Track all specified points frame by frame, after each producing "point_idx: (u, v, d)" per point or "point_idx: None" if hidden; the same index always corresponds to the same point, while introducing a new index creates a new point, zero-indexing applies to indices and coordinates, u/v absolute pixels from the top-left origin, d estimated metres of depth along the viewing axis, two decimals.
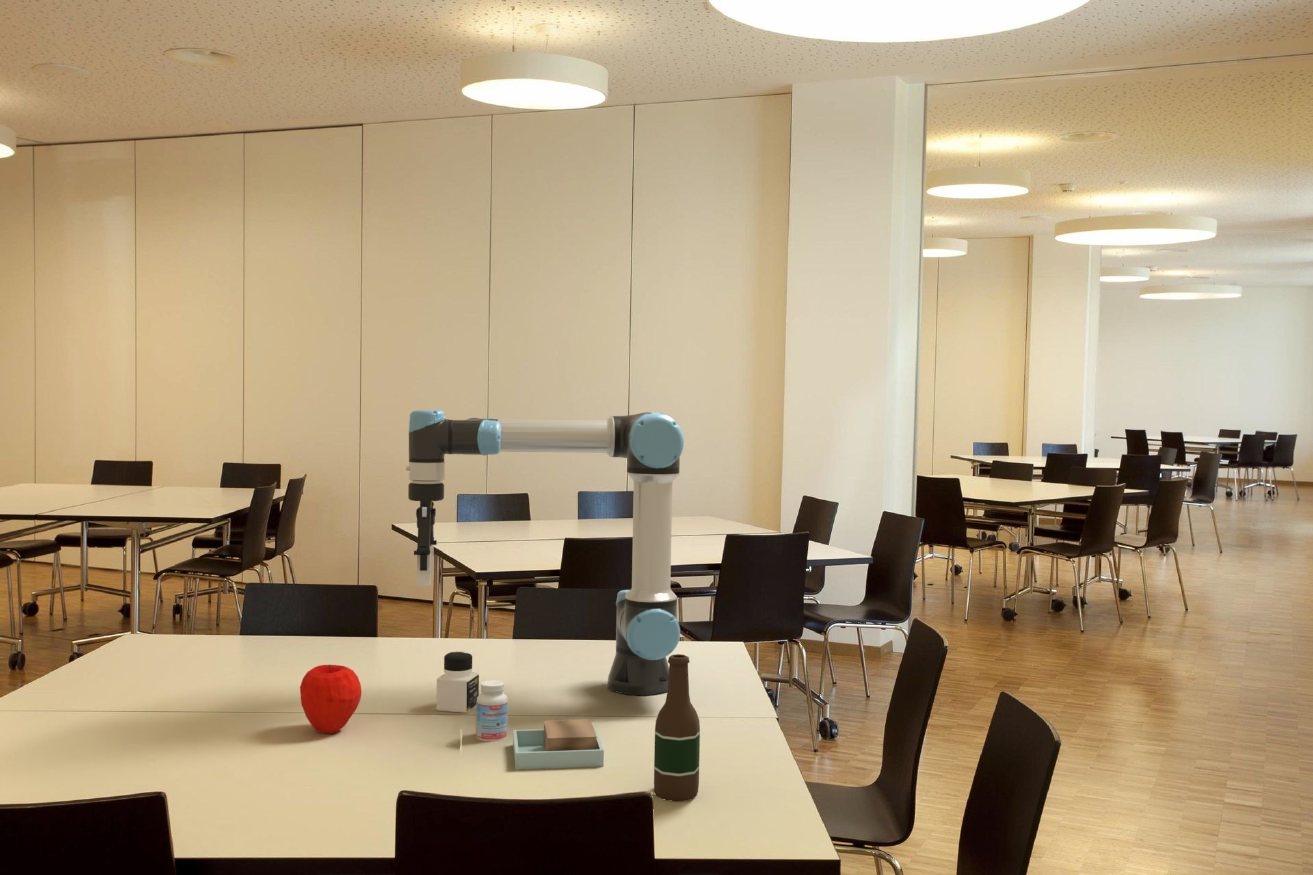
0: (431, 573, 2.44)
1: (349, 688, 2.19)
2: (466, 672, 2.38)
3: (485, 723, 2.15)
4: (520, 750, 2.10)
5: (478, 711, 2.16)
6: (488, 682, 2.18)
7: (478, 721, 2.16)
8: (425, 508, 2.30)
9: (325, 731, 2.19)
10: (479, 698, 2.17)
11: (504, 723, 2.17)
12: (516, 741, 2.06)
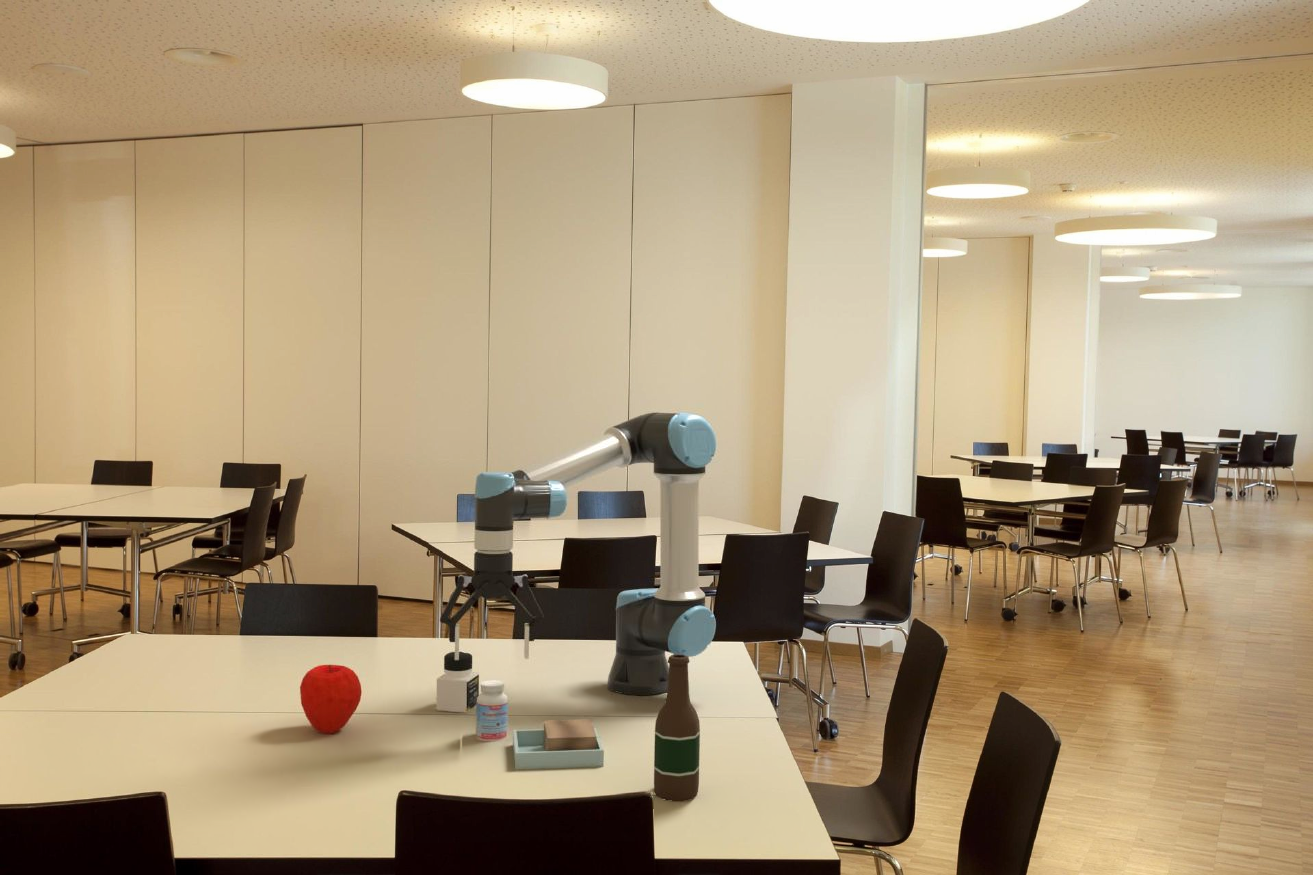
0: (524, 656, 2.18)
1: (349, 688, 2.19)
2: (466, 672, 2.38)
3: (485, 723, 2.15)
4: (520, 750, 2.10)
5: (478, 711, 2.16)
6: (488, 682, 2.18)
7: (478, 721, 2.16)
8: (458, 576, 2.16)
9: (325, 731, 2.19)
10: (479, 698, 2.17)
11: (504, 723, 2.17)
12: (516, 741, 2.06)
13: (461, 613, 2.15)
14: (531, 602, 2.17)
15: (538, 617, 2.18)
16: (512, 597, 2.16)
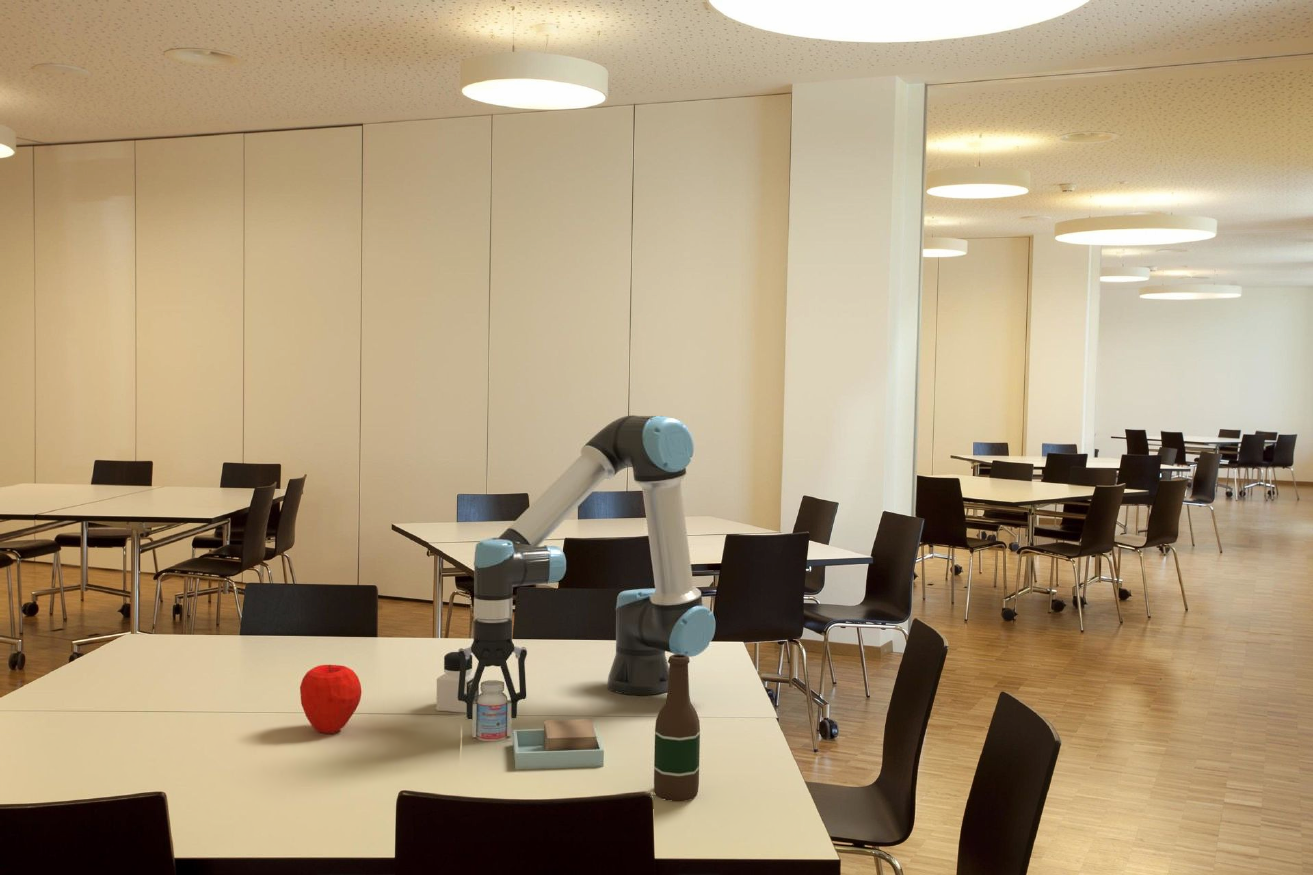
0: (507, 733, 2.18)
1: (349, 688, 2.19)
2: (466, 672, 2.38)
3: (485, 723, 2.15)
4: (520, 750, 2.10)
5: (478, 711, 2.16)
6: (488, 682, 2.18)
7: (478, 721, 2.16)
8: (458, 652, 2.16)
9: (325, 731, 2.19)
10: (479, 698, 2.17)
11: (504, 723, 2.17)
12: (516, 741, 2.06)
13: (474, 688, 2.16)
14: (520, 677, 2.18)
15: (521, 693, 2.18)
16: (506, 669, 2.17)
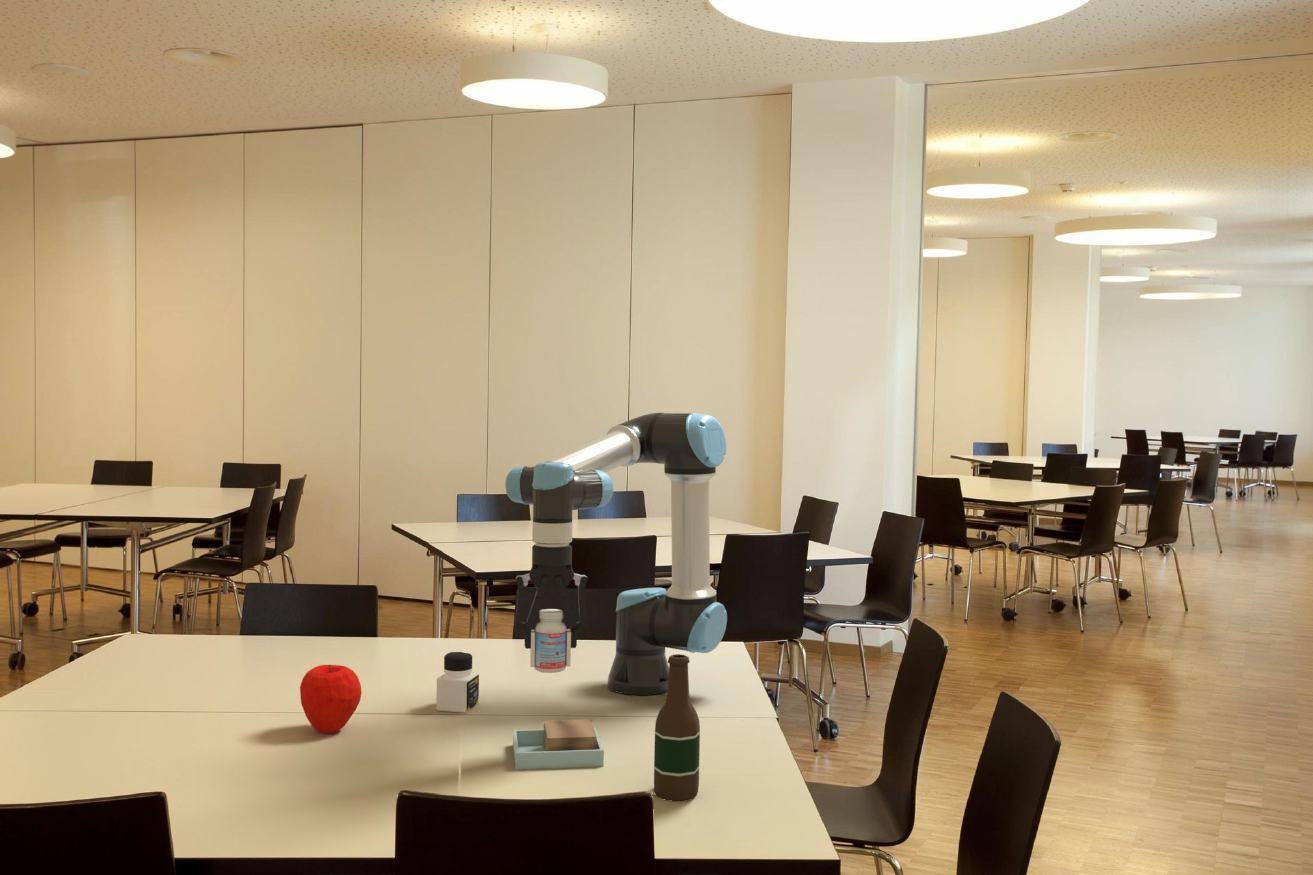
0: (566, 663, 2.09)
1: (349, 688, 2.19)
2: (466, 672, 2.38)
3: (544, 652, 2.07)
4: (520, 750, 2.10)
5: (536, 640, 2.08)
6: (546, 610, 2.10)
7: (536, 650, 2.08)
8: (516, 578, 2.08)
9: (325, 731, 2.19)
10: (537, 626, 2.08)
11: (563, 653, 2.08)
12: (516, 741, 2.06)
13: (533, 615, 2.08)
14: (580, 605, 2.09)
15: (581, 622, 2.09)
16: (565, 596, 2.08)
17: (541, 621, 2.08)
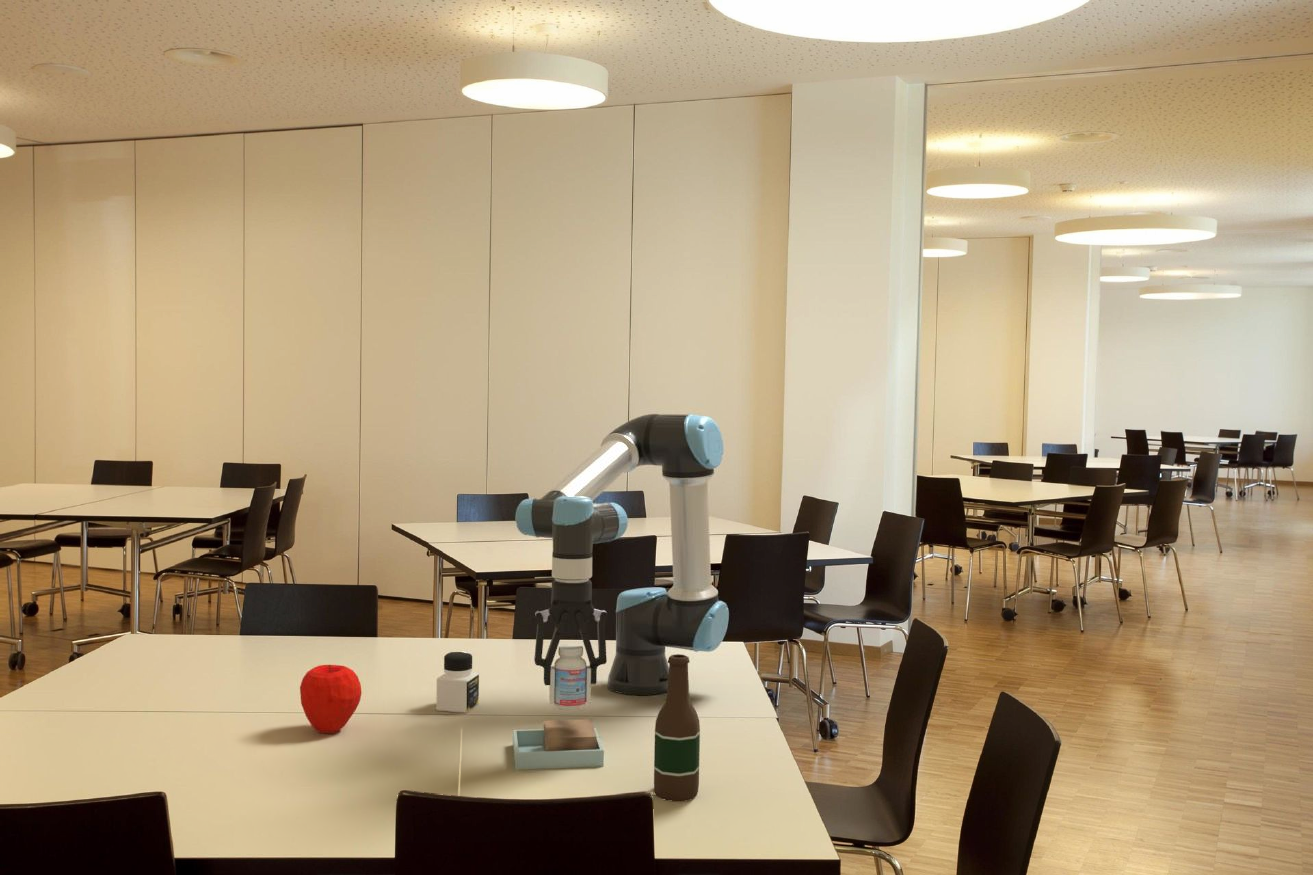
0: (586, 700, 2.07)
1: (349, 688, 2.19)
2: (466, 672, 2.38)
3: (564, 688, 2.04)
4: (520, 750, 2.10)
5: (556, 676, 2.05)
6: (566, 646, 2.07)
7: (556, 687, 2.05)
8: (535, 614, 2.06)
9: (325, 731, 2.19)
10: (557, 662, 2.06)
11: (583, 689, 2.06)
12: (516, 741, 2.06)
13: (553, 652, 2.05)
14: (600, 640, 2.07)
15: (601, 658, 2.07)
16: (585, 632, 2.06)
17: (561, 657, 2.06)
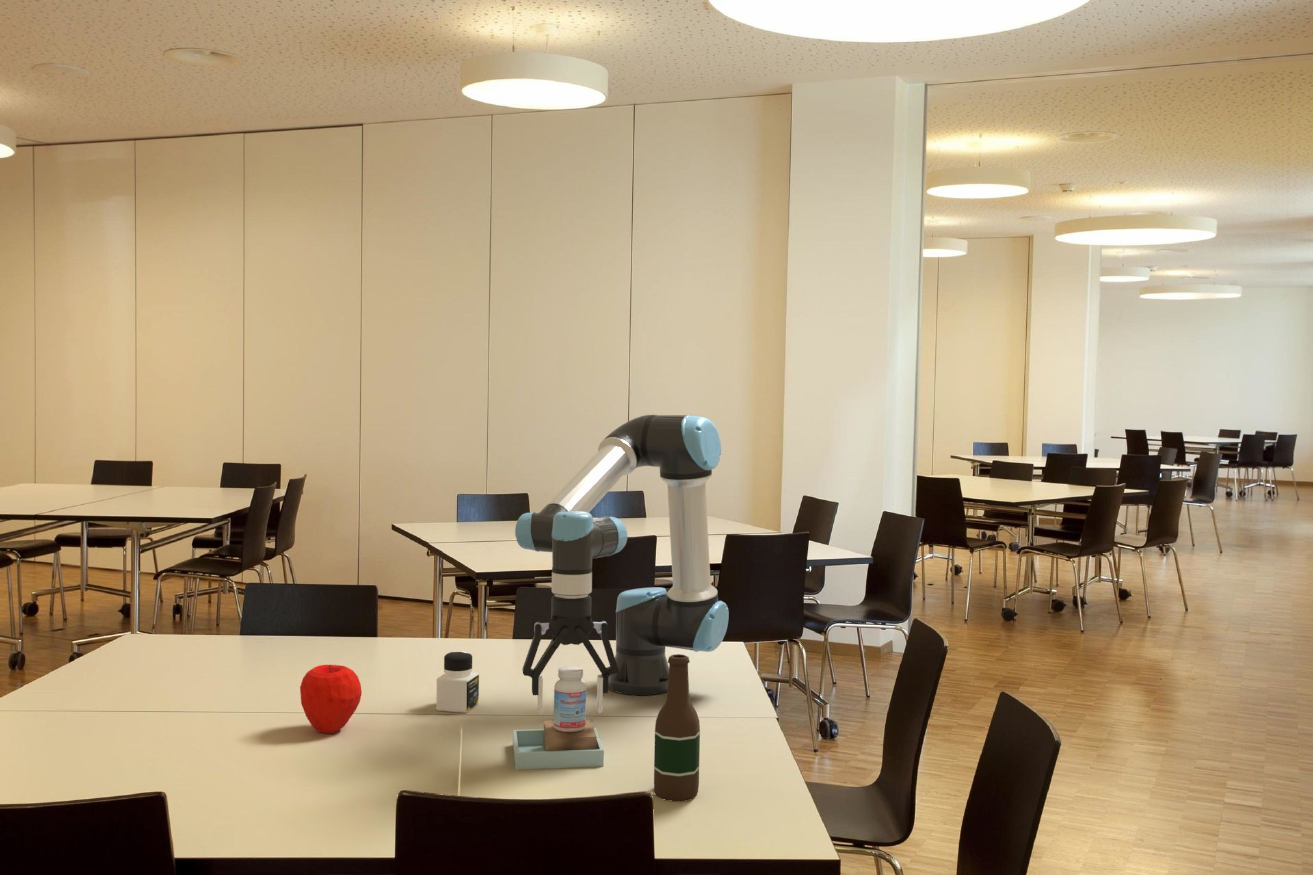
0: (598, 709, 2.07)
1: (349, 688, 2.19)
2: (466, 672, 2.38)
3: (564, 711, 2.05)
4: (520, 750, 2.10)
5: (556, 699, 2.06)
6: (566, 669, 2.07)
7: (556, 709, 2.06)
8: (535, 624, 2.06)
9: (325, 731, 2.19)
10: (557, 685, 2.06)
11: (583, 711, 2.06)
12: (516, 741, 2.06)
13: (544, 663, 2.05)
14: (607, 651, 2.07)
15: (612, 668, 2.07)
16: (589, 645, 2.06)
17: (561, 680, 2.06)
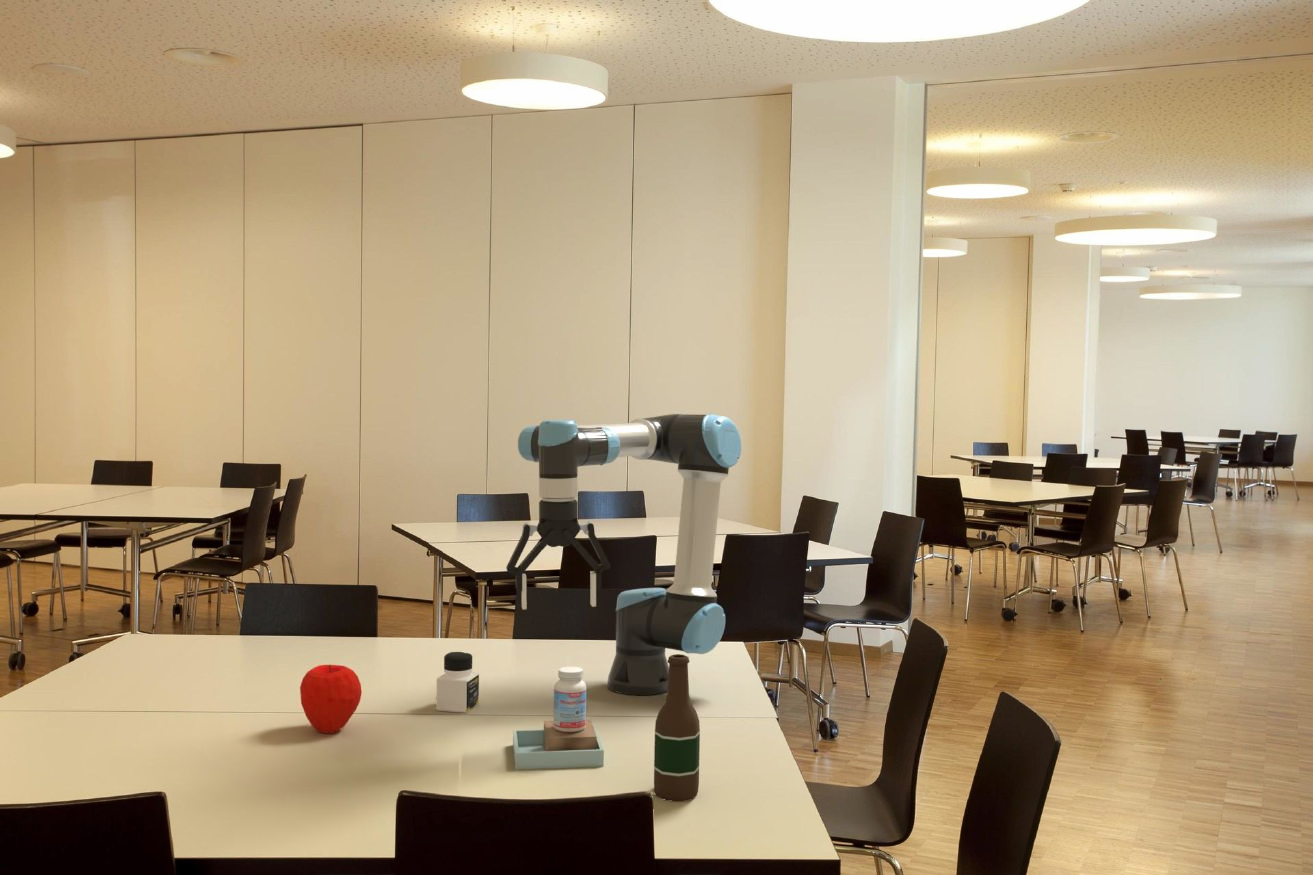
0: (591, 604, 2.17)
1: (349, 688, 2.19)
2: (466, 672, 2.38)
3: (564, 711, 2.05)
4: (520, 750, 2.10)
5: (556, 699, 2.06)
6: (566, 669, 2.07)
7: (556, 709, 2.06)
8: (524, 525, 2.14)
9: (325, 731, 2.19)
10: (557, 685, 2.06)
11: (583, 711, 2.06)
12: (516, 741, 2.06)
13: (528, 562, 2.14)
14: (597, 549, 2.16)
15: (604, 564, 2.17)
16: (578, 545, 2.15)
17: (561, 680, 2.06)
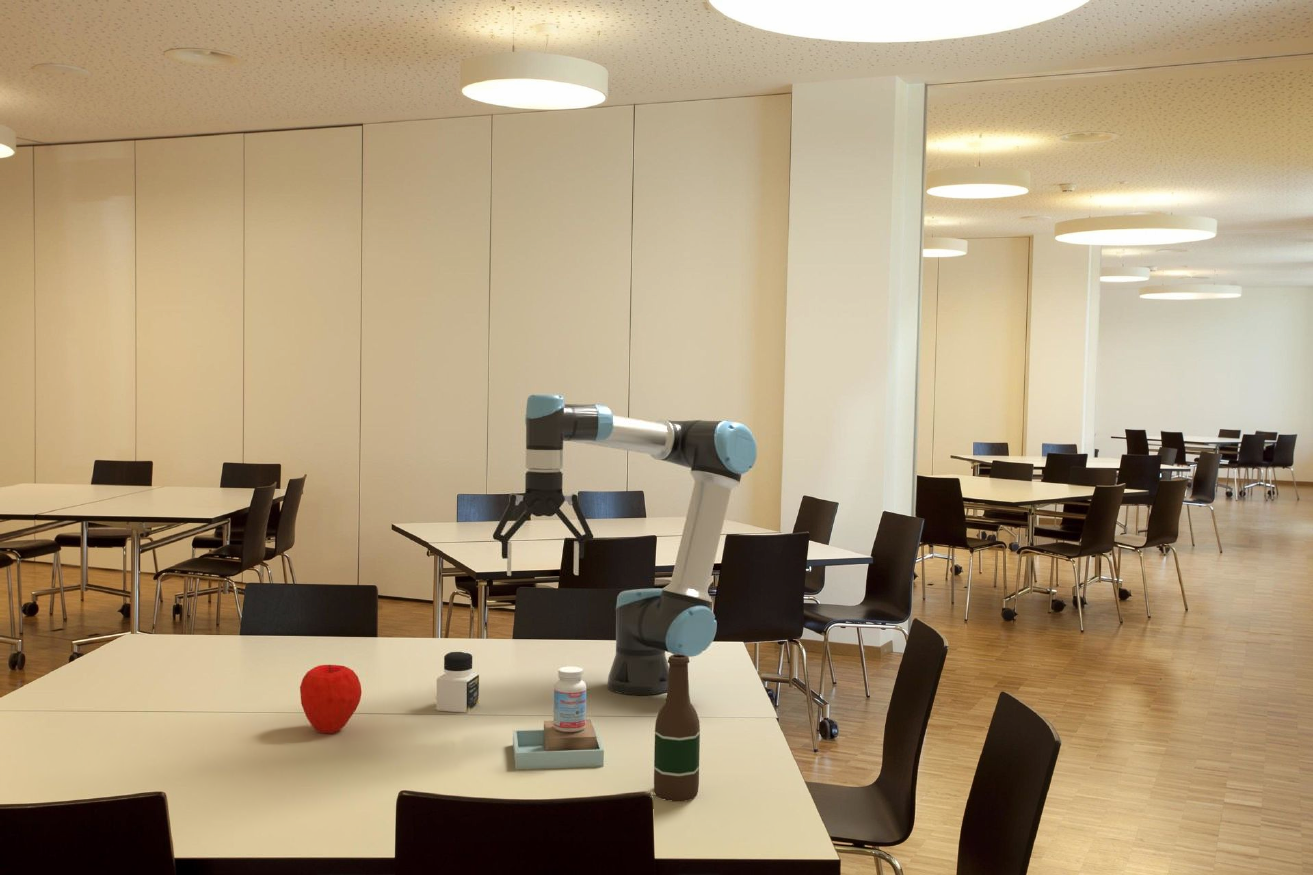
0: (574, 572, 2.25)
1: (349, 688, 2.19)
2: (466, 672, 2.38)
3: (564, 711, 2.05)
4: (520, 750, 2.10)
5: (556, 699, 2.06)
6: (566, 669, 2.07)
7: (556, 709, 2.06)
8: (510, 495, 2.23)
9: (325, 731, 2.19)
10: (557, 685, 2.06)
11: (583, 711, 2.06)
12: (516, 741, 2.06)
13: (514, 530, 2.22)
14: (581, 520, 2.24)
15: (587, 535, 2.25)
16: (562, 515, 2.23)
17: (561, 680, 2.06)
